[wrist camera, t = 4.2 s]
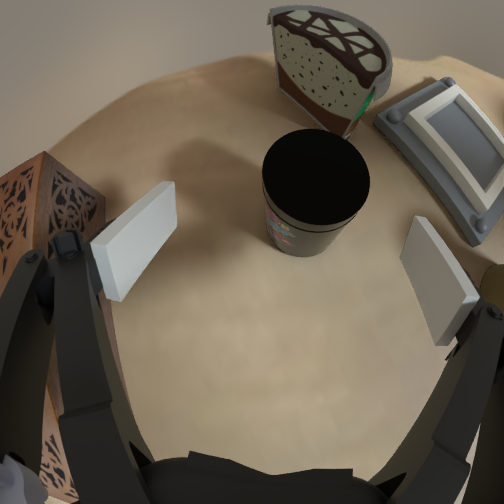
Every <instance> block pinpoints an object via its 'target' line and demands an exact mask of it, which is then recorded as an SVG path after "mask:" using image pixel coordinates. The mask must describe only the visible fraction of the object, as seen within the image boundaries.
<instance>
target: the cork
mask: <svg viewBox="0 0 504 504" xmlns="http://www.w3.org/2000/svg"><path fill="white" fill-rule="evenodd" d="M480 293H481V295H482V297H483V298H484V300H485V302H489V303H492V304H494V305H496V306H497V307H498V308H499V309H500V310H501V311H502V312H503V315H504V264H500V265H494V266H491V267H489V269H488V270H487V271H486V272H485V274H484V276H483V278H482V282H481V287H480Z"/></svg>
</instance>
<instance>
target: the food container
mask: <svg viewBox="0 0 504 504" xmlns="http://www.w3.org/2000/svg"><path fill="white" fill-rule="evenodd" d="M269 24H271V27H272V36H273V45H274V54H275V64H276V74H277V85H278V89H280V90H281V91H282V92H283V93H284V94H285V95H287V96H288V97H289V98H290V99H291V100H292V101H294V102H295V103H296V104H297V105H298V106H299V107H300V108H302V109H303V110H304V111H305V112H306V113H307V114H308V115H309V116H310V117H311V118H312V119H314V120H315V121H316V122H317V123H318V124H319V125H320V126H321V127H322V128H323V129H324V130H325V131H328V132H331V133H334V134H336V135H338V136H340V137H342V138H344V139H345V140H347V139H348V138H349V136H350V134H351V133H352V131H353V129H354V128H355V126H356V124H357V123H358V121H359V120H360V118H361V116H362V115H363V113H364V111H365V110H366V108H367V106H368V105H369V103H370V101H371V100H372V98H373V96H374V101H377V100H378V99H379V98H381V97H382V96H383V95H384V94H385V93H386V92H387V90H388V88H389V86H390V82H391V75H392V67H393V63H392V57H391V51H390V49H389V46H388V44H387V43H386V41H385V40H384V39H383V38H382V36H381V35H380V34H379V33H378V32H377V31H375V30H374V29H373V28H372V27H370V26H369V25H367V24H366V23H365V22H363V21H361V20H359V19H357V18H355V17H353V16H351V15H348V14H346V13H343V12H340V11H337V10H334V9H330V8H325V7H319V6H312V5H287V6H281V7H276V8H272V9H270V13H269V14H268V19H267V25H269Z"/></svg>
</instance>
